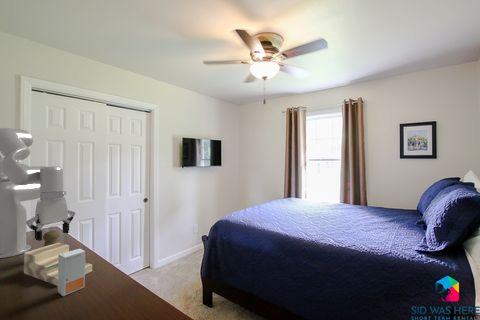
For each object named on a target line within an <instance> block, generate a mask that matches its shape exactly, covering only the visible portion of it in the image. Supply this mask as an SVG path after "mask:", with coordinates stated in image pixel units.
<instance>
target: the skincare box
mask: <svg viewBox="0 0 480 320" xmlns="http://www.w3.org/2000/svg"><path fill="white" fill-rule="evenodd" d="M85 263H86V250H85V249H84V250H83V249H82V248H76V249H74V250H69V252H66V253H63V254H59V255H58V286H57V293H58V294H59V295H61V296H62V297H65V296H68V295H70V294H72V293H74V292H77V291H80V290H83V289H84V288H85V286H86V285H85V283H86V281H85V280H86V274H85Z"/></svg>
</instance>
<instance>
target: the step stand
mask: <svg viewBox="0 0 480 320" xmlns="http://www.w3.org/2000/svg"><path fill="white" fill-rule="evenodd" d="M69 251H70V245H69V244H65V243H61V242H58V243H55V244H52V245H49V246H45V247H44V246H43V247H39V248H35V249H32V250H29V251H27V252H25V253H23V274H25V275H27V276H29V277H32V278H35V279H38V280H41V281H44V282H46V283H48V284H52V285H54V286H56V287H58V255H59V254H63V253H66V252H69ZM91 272H93V264H92V263H89V262H85V275H87V274H90V273H91Z"/></svg>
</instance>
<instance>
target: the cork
mask: <svg viewBox="0 0 480 320" xmlns="http://www.w3.org/2000/svg"><path fill="white" fill-rule="evenodd" d="M59 237H60V233H59V231H57V230H51V231H46V232H45V233H44V234H42V240H44V245H43V247H45V246H49V245H52V244H55V243H59Z"/></svg>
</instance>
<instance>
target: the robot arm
mask: <svg viewBox="0 0 480 320" xmlns="http://www.w3.org/2000/svg"><path fill="white" fill-rule="evenodd" d="M33 142H34V138H33V135H32V133H30V131H28V130H24V129H20V128H19V129H18V128H9V127H8V128H7V127H0V153H1V155H2V156H3V157H2V156H1V155H0V259H3V258H5V259H6V258H10V257H15V256H18V255H21V254H24V253H25V252H28V251H31V248H32V246H31V245H30V244H27V226H28V228H29V229H31V230H32V231H33V232H34V240H36V241H38V242H41V241H43V230H42V229H43V228H44V226H45V225H50V224H52V225H53V224H55V223H60V222H62V233H63V234H69V233H70V232H69V231H70V224H71V222H72V220H73V219H74V217H75V215H76V212H75V211H71V210H69V209H68V204H67V200H66V197H64V196H65V195H67V191H65V190H64V172H63V171H64V170H63V167H61V166H43V165H42V166H36V165H35V166H30V165H28V164H25V163H19V162H22V161H24V160H25V159H27V158H28V157H29V155H31V149H30V148H29V147H30V146H32V145H33ZM38 199H39V200H38ZM32 200H37V202H36V206H35V213H34V216H32V217H31V218H30V219H28V220H27V210H26V208H25V206H24V205H23V204H22V202H26V201H32ZM34 223H35V225H34Z"/></svg>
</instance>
